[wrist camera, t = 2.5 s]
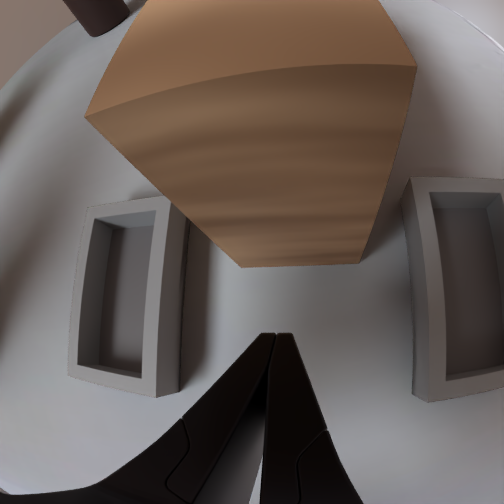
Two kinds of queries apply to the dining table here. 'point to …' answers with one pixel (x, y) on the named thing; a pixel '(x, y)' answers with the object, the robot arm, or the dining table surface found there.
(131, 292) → the grey rectangular tray
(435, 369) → the tray
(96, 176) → the dining table surface
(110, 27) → the bottle
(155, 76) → the walnut block
